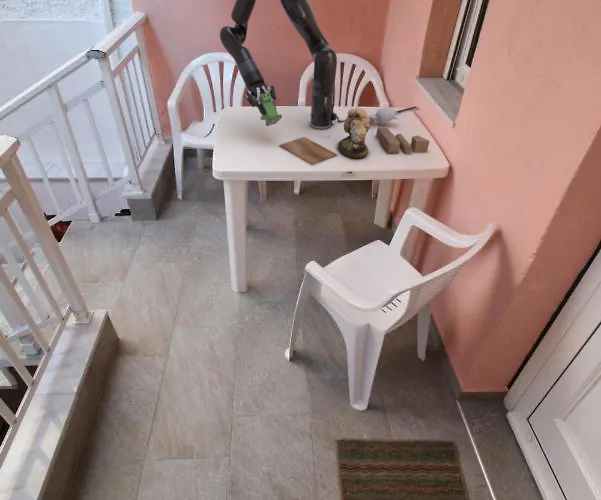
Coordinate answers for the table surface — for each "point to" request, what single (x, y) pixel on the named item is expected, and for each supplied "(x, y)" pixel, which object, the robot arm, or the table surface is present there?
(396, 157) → the table surface
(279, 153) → the table surface
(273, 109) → the toy dinosaur
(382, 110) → the toy creature
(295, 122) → the table surface
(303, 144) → the wooden board
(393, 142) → the wooden block set
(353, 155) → the tan lumpy upright piece
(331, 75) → the robot arm
